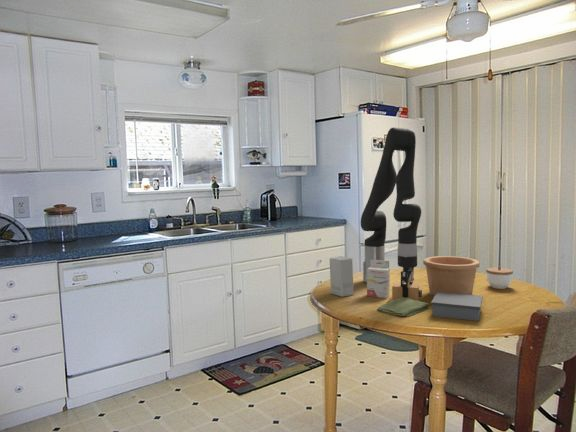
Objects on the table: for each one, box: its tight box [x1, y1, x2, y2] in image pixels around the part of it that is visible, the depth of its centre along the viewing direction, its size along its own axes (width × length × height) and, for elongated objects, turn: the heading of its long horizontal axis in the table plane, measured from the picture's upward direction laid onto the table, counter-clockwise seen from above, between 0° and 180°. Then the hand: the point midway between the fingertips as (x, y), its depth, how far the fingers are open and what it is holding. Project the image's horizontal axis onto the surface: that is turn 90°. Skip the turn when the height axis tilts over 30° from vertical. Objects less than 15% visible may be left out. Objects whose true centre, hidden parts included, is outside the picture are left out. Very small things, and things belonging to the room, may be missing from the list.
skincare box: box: [329, 256, 354, 298], centre depth 193 cm, size 8×7×16 cm
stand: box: [430, 292, 484, 322], centre depth 165 cm, size 16×16×5 cm
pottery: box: [422, 255, 480, 298], centre depth 189 cm, size 22×22×14 cm
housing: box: [391, 282, 423, 301], centre depth 182 cm, size 11×6×6 cm, turn 72°
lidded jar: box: [485, 265, 514, 290], centre depth 200 cm, size 11×11×9 cm
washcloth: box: [376, 297, 430, 318], centre depth 170 cm, size 13×18×3 cm
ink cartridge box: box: [366, 260, 391, 299], centre depth 189 cm, size 9×5×15 cm, turn 65°
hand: (407, 294), depth 182 cm, fingers open, 8 cm apart
